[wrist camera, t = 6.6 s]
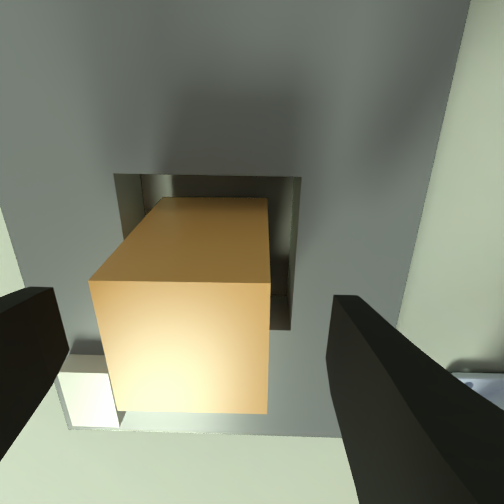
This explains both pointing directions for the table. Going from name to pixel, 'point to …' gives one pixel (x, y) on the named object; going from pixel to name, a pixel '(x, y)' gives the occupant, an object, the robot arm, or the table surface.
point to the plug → (189, 308)
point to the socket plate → (223, 161)
